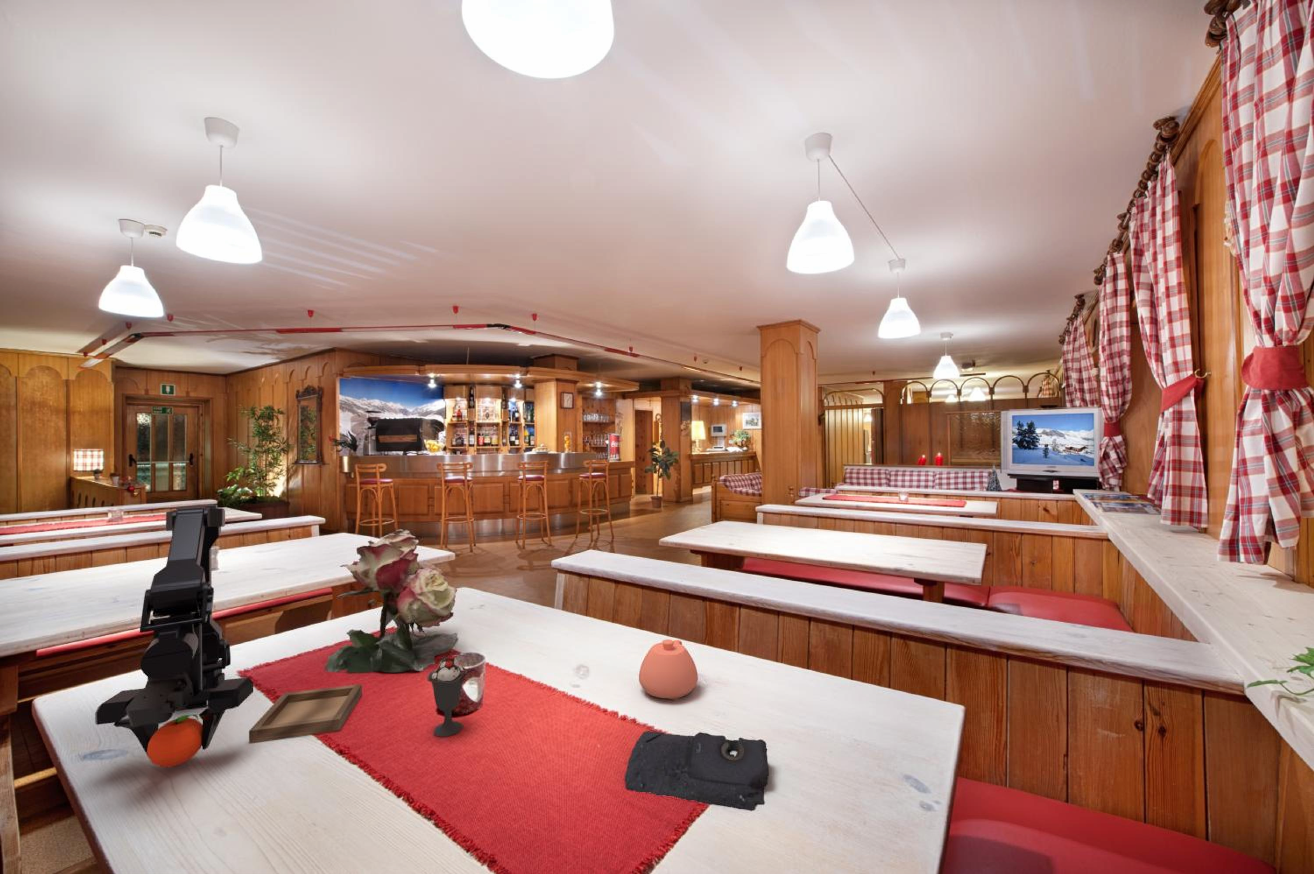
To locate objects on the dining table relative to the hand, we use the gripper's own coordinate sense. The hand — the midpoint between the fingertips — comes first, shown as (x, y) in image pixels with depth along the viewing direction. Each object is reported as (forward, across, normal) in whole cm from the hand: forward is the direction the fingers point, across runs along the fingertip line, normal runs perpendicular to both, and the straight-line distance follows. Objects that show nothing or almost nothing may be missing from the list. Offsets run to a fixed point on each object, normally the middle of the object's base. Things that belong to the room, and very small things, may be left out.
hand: (179, 751), depth 85 cm
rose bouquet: (+2, +26, +40) cm, 48 cm away
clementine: (+2, 0, 0) cm, 2 cm away
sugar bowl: (+2, +84, +3) cm, 84 cm away
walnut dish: (+2, +15, +11) cm, 19 cm away
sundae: (+2, +41, -1) cm, 41 cm away
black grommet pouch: (+2, +81, -24) cm, 84 cm away
